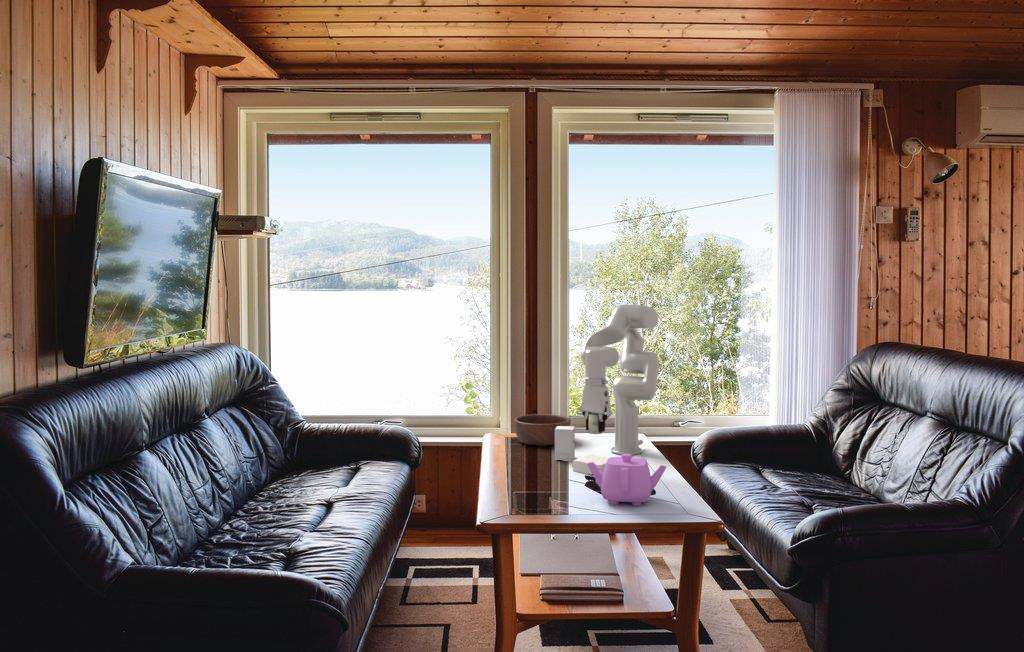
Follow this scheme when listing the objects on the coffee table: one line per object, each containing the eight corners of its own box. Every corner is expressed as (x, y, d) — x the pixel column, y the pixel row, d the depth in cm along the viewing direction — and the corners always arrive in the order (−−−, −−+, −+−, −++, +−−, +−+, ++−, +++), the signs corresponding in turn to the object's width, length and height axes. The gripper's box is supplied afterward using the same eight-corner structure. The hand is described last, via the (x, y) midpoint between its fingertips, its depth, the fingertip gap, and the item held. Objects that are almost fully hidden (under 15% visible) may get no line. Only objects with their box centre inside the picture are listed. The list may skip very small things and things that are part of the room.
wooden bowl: (518, 435, 344) (517, 413, 343) (572, 436, 340) (572, 414, 340) (510, 447, 319) (510, 423, 318) (568, 449, 316) (568, 424, 315)
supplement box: (572, 461, 293) (572, 429, 292) (554, 460, 294) (554, 429, 294) (575, 457, 300) (575, 426, 300) (556, 456, 302) (556, 425, 301)
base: (591, 464, 287) (591, 454, 287) (618, 470, 279) (618, 459, 279) (573, 470, 278) (573, 460, 278) (599, 476, 270) (599, 465, 270)
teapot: (668, 502, 238) (668, 456, 237) (626, 513, 227) (626, 464, 226) (626, 489, 253) (626, 445, 253) (585, 498, 243) (585, 452, 242)
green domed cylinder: (593, 430, 282) (593, 412, 281) (604, 432, 278) (604, 414, 278) (585, 432, 278) (585, 414, 277) (596, 434, 275) (596, 415, 274)
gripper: (620, 383, 274) (620, 432, 275) (583, 379, 285) (583, 426, 287) (608, 385, 268) (608, 435, 270) (571, 381, 280) (571, 429, 281)
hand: (595, 430), depth 278 cm, fingers closed on green domed cylinder, 5 cm apart
